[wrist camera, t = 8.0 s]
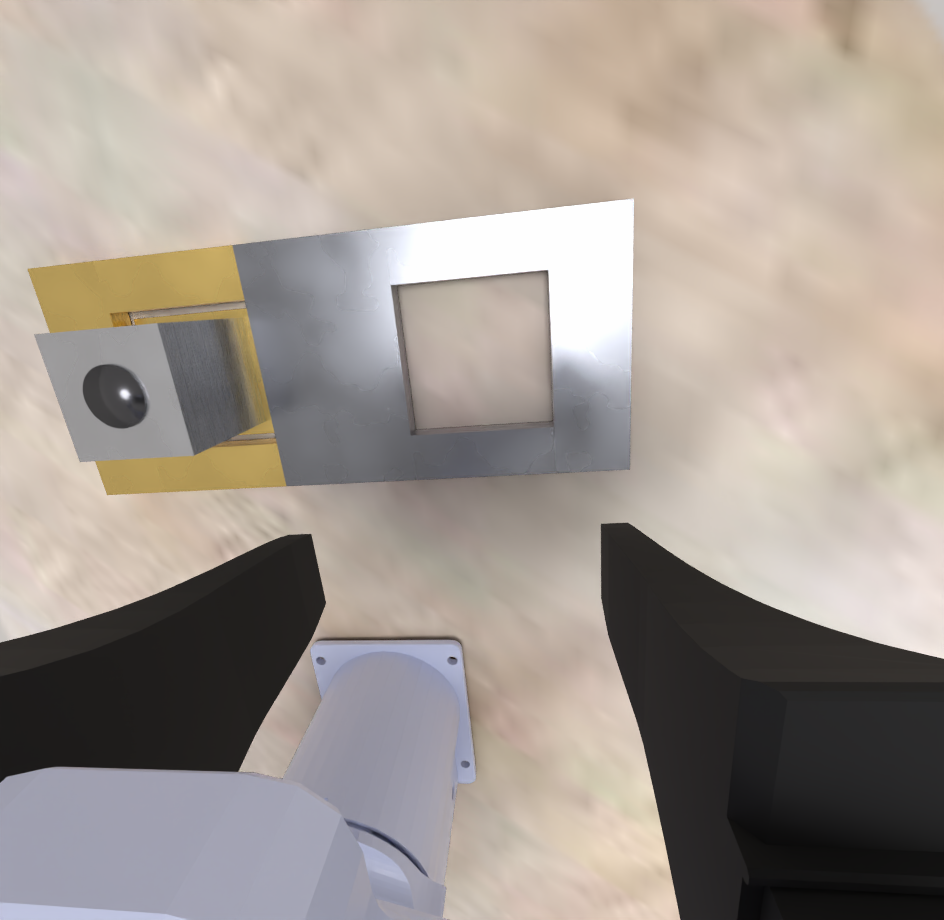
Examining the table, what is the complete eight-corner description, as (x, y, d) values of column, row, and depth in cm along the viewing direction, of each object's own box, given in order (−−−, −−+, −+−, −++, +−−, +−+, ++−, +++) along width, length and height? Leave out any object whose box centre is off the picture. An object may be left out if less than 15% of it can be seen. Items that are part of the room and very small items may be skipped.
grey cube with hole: (265, 421, 22) (191, 456, 17) (174, 427, 22) (77, 462, 17) (242, 317, 20) (154, 323, 15) (145, 326, 21) (30, 334, 16)
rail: (624, 461, 21) (629, 469, 20) (123, 487, 24) (107, 495, 23) (627, 204, 18) (633, 198, 17) (50, 270, 20) (27, 268, 20)
